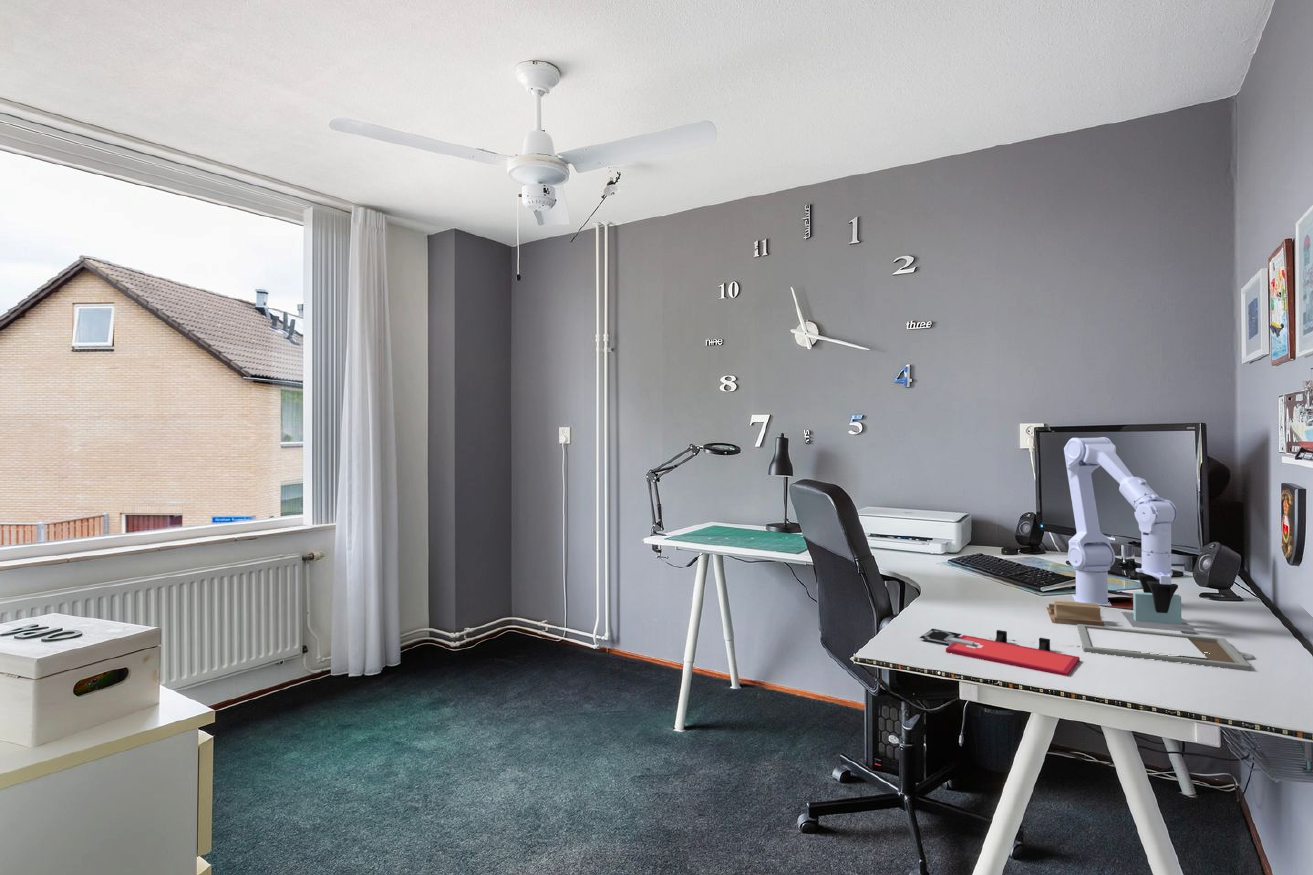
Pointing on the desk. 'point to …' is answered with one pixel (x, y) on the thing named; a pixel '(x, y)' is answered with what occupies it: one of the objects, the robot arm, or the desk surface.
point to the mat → (1160, 625)
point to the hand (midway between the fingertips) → (1156, 608)
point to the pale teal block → (1147, 612)
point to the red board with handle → (1006, 651)
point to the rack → (1072, 619)
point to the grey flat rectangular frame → (1218, 657)
